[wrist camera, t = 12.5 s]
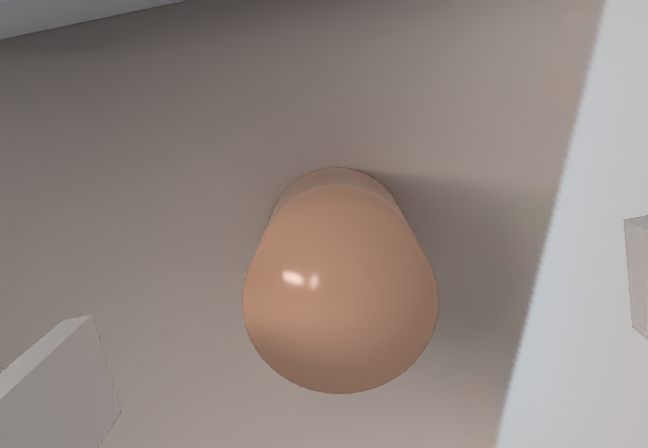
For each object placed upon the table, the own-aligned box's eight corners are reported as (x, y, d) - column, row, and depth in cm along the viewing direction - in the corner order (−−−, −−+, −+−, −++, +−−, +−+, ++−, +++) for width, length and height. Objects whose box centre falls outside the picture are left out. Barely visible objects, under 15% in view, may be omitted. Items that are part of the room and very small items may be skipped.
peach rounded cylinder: (288, 309, 22) (270, 410, 16) (254, 184, 21) (218, 234, 14) (416, 281, 22) (454, 371, 15) (388, 153, 21) (417, 189, 14)
